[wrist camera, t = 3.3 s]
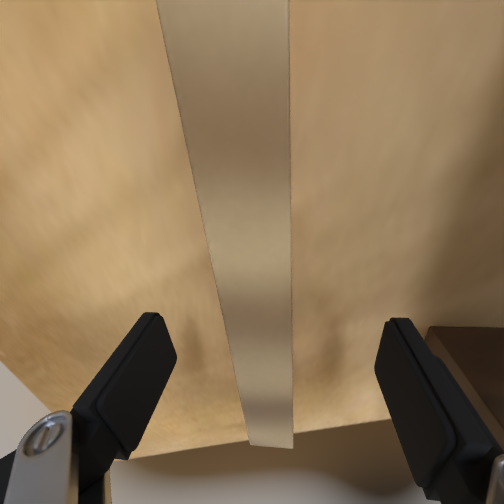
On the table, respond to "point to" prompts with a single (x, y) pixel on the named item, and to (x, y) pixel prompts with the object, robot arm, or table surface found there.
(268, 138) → the stick
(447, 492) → the robot arm
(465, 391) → the dark brown channel bracket
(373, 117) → the table surface
